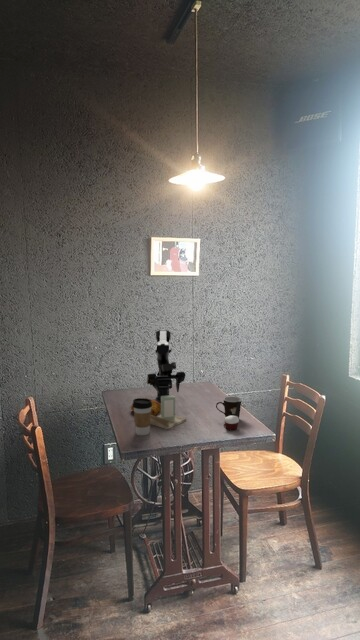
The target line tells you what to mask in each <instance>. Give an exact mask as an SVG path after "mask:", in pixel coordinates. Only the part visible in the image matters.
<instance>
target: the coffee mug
mask: <svg viewBox="0 0 360 640" xmlns="http://www.w3.org/2000/svg"><path fill="white" fill-rule="evenodd" d="M238 401H241V402H242V398H241V397H238V396H225V397H223V402H222V401H218V402H217V403H216V404H215V408H216V410H218V411H219V412H220V413H221V414H224V416H225V418H226V417H228V416H231V415H232V416H235V412H236V408H237V404H238ZM219 404H222V405H223V407H224V408H223V409H224V411H222V410H221V409H219V408H218V405H219ZM241 404H242V403H241ZM241 404H240V407H239V411H238V415H237V417H238V418H239V419H240V414H241V408H242V405H241ZM225 418H224V419H225Z"/></svg>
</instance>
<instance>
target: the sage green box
mask: <svg viewBox="0 0 360 640" xmlns="http://www.w3.org/2000/svg"><path fill="white" fill-rule="evenodd" d="M160 405H161V411H160V415H161V418H164V419H167V420H175V416H176V397H175V395H173V394H171V395H170V394H169V395H168V396H161V400H160Z"/></svg>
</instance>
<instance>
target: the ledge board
mask: <svg viewBox="0 0 360 640" xmlns="http://www.w3.org/2000/svg"><path fill="white" fill-rule="evenodd" d="M185 422H187V418H185V417H183V416H178V415H175V420H167V419H164V418H161V414H160V415H157V416H156V415H151V420H150V425H153V426H154V427H155V426H156V427H159V428H162V429H165V430H169V429H171V428H173V427H175V426H178V425H180V424H182V423H185Z"/></svg>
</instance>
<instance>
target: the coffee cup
mask: <svg viewBox="0 0 360 640" xmlns="http://www.w3.org/2000/svg"><path fill="white" fill-rule="evenodd" d="M144 398H145V397H143V398H140V397H138V398H134V399H133V401H132V404H133V407H134V412H133V416H134V418H133V419H134V424H135V434H136V435H138V436H147V435H150V432H151V429H150V428H151V424H150V420H151V407H152V402H151V400H152V399H151V398H146V399H144ZM150 399H151V400H150Z"/></svg>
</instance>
